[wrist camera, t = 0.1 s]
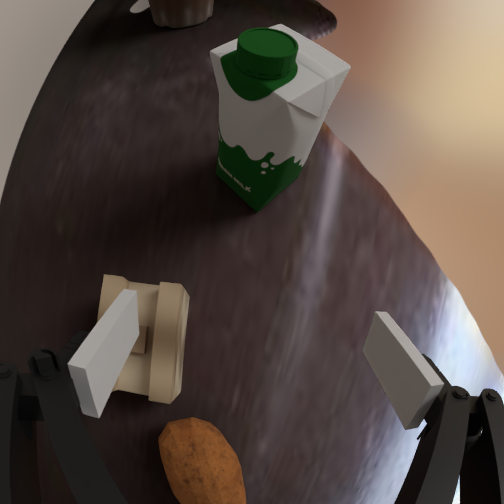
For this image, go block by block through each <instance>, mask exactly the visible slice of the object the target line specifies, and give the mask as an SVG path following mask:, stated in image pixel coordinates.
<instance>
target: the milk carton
mask: <svg viewBox="0 0 504 504" xmlns="http://www.w3.org/2000/svg"><path fill="white" fill-rule="evenodd" d="M210 56H211V61H212V65H213V69H214V73H215V77H216V82H217V86H218V90H219V148H218V157H217V166H216V175H217V176H218V177H220V178H221V179H222V180H223V181H224V182H225V183H226V184H227V185H228V186H229V187H230V188H231V189H232V190H233V191H234V192H236V193H237V194H238V195H239V196H240V197H241V198H242V199H243V200H244V201H245V202H246V203H247V204H248V205H249V206H250V207H251V208H252V209H253V210H255V211H256V212H258V211H260V210H261V209H262V208H263V207H264V206H265V205H267V204H268V203H269V202H270V201H271V200H272V199H274V198H275V197H276V196H277V195H278V194H279V193H281V192H282V191H283V190H284V189H285V188H286V187H288V186H289V185H290V184H291V183H292V182H293V181H295V180H296V179H297V178H298V176H299V174H300V172H301V170H302V168H303V166H304V164H305V162H306V159H307V157H308V155H309V153H310V150H311V148H312V146H313V144H314V141H315V139H316V137H317V135H318V132H319V130H320V128H321V125H322V123H323V121H324V118H325V116H326V113H327V111H328V110H329V107H330V105H331V104H332V102H333V100H334V98H335V96H336V94H337V92H338V90H339V88H340V87H341V85H342V83H343V81H344V79H345V77H346V75H347V73H348V72H349V70H350V68H351V66H350V65H349V64H347V63H346V62H344V61H343V60H341V59H340V58H338V57H336V56H335V55H334V54H332V53H330V52H329V51H327V50H326V49H324V48H322V47H321V46H319V45H317V44H316V43H314V42H313V41H311V40H309V39H307V38H306V37H304V36H302V35H300V34H299V33H297V32H295V31H293V30H291V29H289V28H288V27H286V26H284V25H282V24H278V25H275V26H272V27H270V28H253V29H249V30H246V31H244V32H243V33H241V34H240V35H239V37H238V39H235V40H233V41H230V42H228V43H226V44H224V45H221V46H219V47H217V48H215V49H213V50H211V51H210Z"/></svg>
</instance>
